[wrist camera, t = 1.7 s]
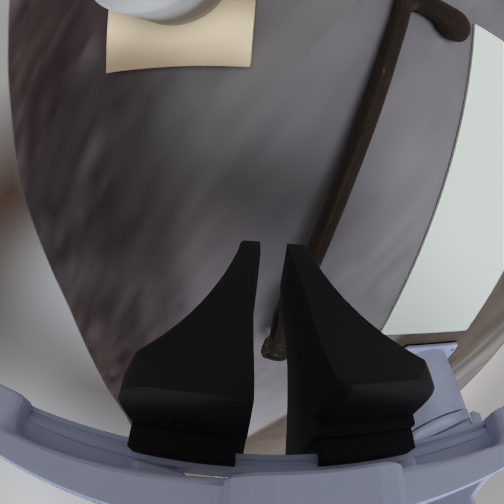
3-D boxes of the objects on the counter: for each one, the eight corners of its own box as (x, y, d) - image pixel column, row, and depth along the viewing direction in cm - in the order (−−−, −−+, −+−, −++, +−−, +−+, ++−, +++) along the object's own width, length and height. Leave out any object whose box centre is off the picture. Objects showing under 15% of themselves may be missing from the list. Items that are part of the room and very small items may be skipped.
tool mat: (465, 329, 27) (466, 330, 27) (379, 333, 27) (380, 334, 27) (561, 88, 11) (562, 88, 11) (473, 24, 11) (475, 23, 10)
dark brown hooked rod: (448, 26, 13) (308, 345, 28) (386, -10, 12) (257, 334, 27) (490, 18, 8) (312, 389, 23) (418, -33, 8) (254, 379, 23)
